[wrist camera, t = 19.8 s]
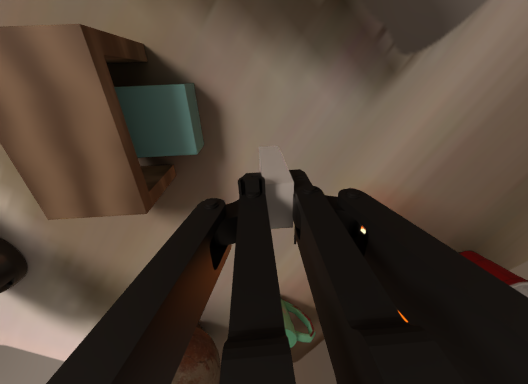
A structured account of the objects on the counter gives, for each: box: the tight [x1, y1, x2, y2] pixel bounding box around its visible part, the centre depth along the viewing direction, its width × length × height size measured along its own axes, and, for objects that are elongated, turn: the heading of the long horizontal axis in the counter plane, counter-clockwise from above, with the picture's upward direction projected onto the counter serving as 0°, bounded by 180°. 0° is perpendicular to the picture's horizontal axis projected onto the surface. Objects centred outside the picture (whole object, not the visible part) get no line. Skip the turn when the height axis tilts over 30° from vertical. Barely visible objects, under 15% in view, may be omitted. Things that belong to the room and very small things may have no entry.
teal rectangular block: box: [114, 83, 204, 158], centre depth 31 cm, size 12×9×5 cm
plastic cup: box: [459, 251, 528, 297], centre depth 46 cm, size 11×11×12 cm
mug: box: [281, 299, 315, 348], centre depth 50 cm, size 15×10×10 cm
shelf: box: [0, 24, 176, 220], centre depth 28 cm, size 12×19×12 cm, turn 2°
